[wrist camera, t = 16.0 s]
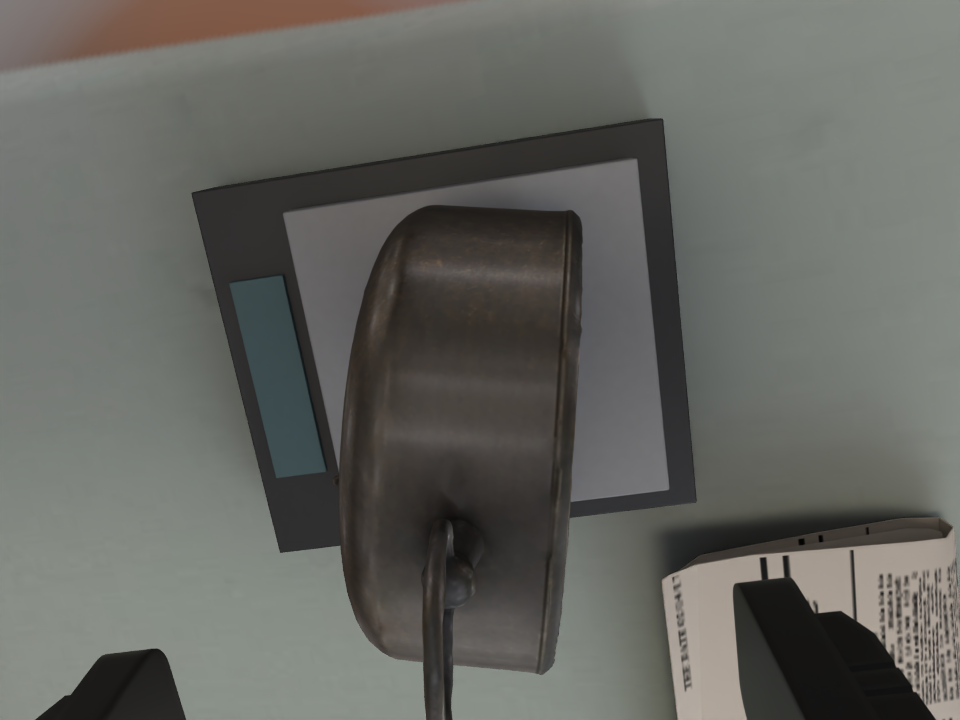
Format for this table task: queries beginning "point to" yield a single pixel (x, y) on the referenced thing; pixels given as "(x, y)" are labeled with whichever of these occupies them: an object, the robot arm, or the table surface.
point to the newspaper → (824, 607)
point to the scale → (348, 264)
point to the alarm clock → (463, 440)
